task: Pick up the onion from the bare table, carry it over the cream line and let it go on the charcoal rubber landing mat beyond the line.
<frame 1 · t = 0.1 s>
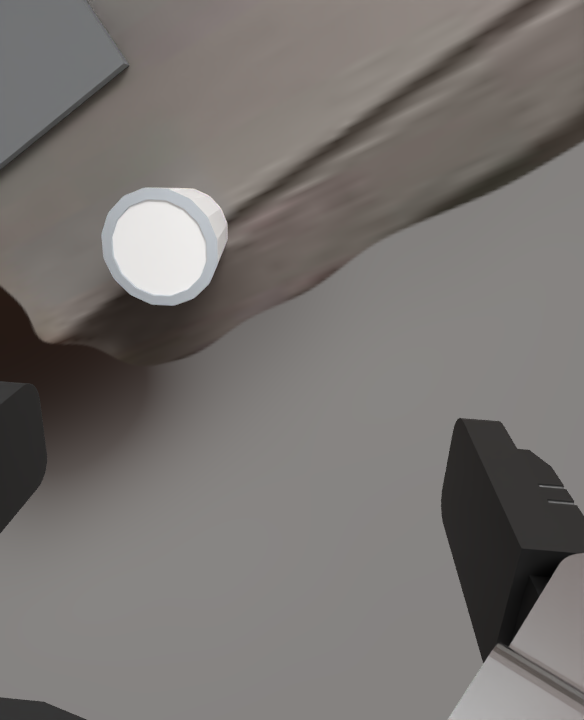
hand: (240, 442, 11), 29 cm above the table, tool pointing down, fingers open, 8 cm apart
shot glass: (188, 229, 39), on the table
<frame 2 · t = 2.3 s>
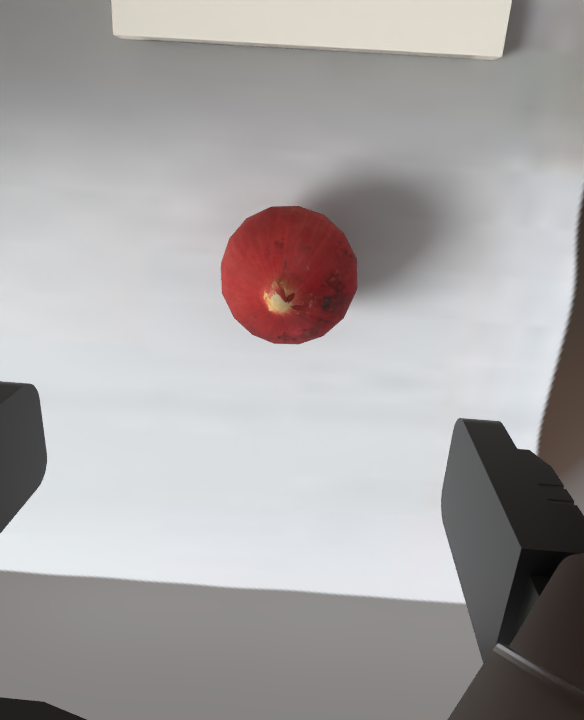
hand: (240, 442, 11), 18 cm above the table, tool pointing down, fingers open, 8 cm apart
onion: (294, 257, 28), on the table
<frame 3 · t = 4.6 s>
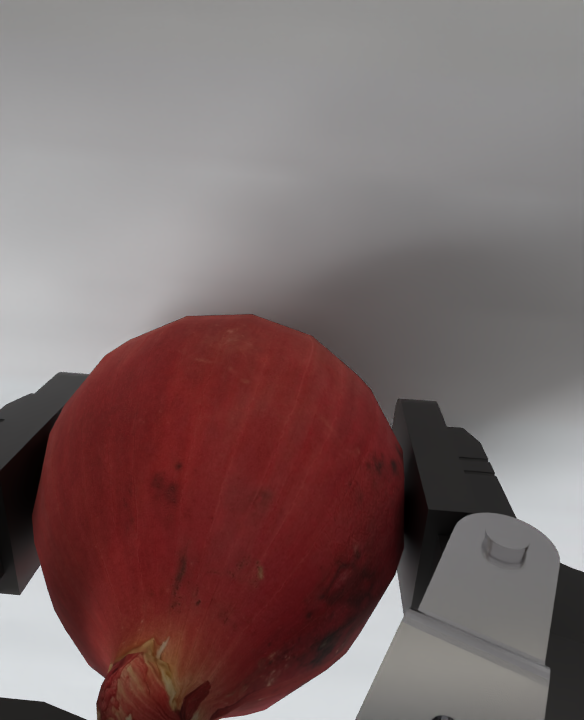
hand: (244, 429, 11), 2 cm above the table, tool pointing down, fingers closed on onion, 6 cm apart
onion: (256, 391, 13), on the table, touching gripper
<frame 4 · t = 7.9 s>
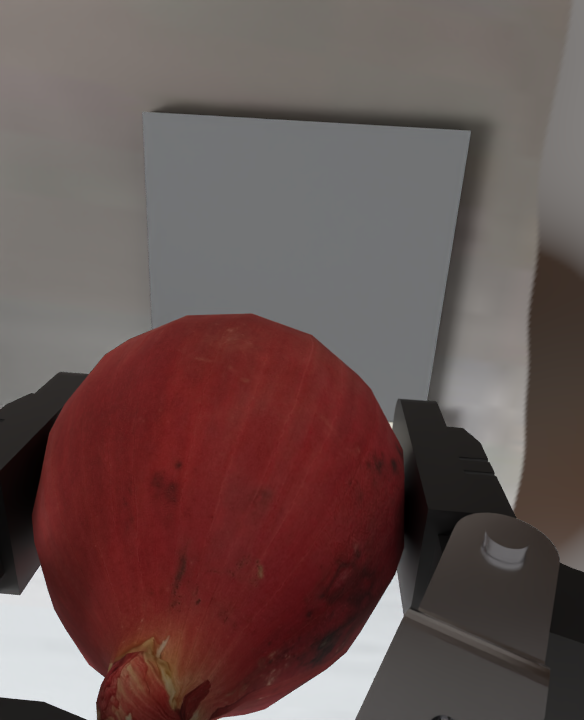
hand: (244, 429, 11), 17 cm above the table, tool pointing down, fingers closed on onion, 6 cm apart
onion: (256, 390, 13), point 15 cm above the table, touching gripper
landing mat: (295, 296, 28), on the table
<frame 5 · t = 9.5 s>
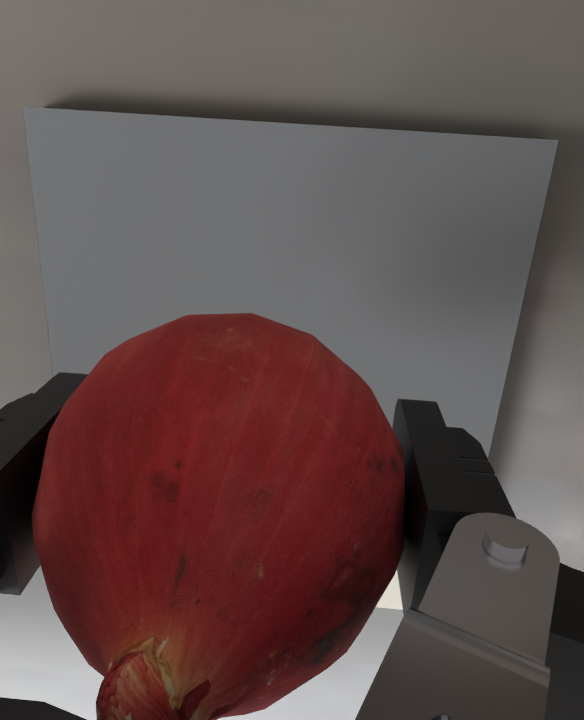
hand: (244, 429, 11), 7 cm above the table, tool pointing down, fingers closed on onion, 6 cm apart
onion: (256, 390, 13), point 5 cm above the table, touching gripper
landing mat: (274, 385, 18), on the table
when the fingers open (4 cm above the table, at t = 11.1 s): onion drops 1 cm, resting on landing mat.
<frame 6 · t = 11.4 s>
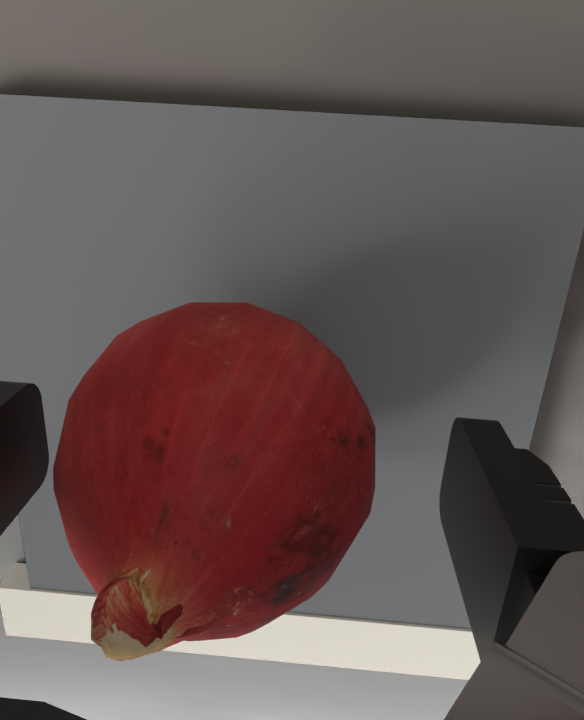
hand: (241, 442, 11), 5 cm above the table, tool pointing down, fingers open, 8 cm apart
onion: (261, 368, 14), point 1 cm above the table, touching landing mat
landing mat: (263, 420, 16), on the table
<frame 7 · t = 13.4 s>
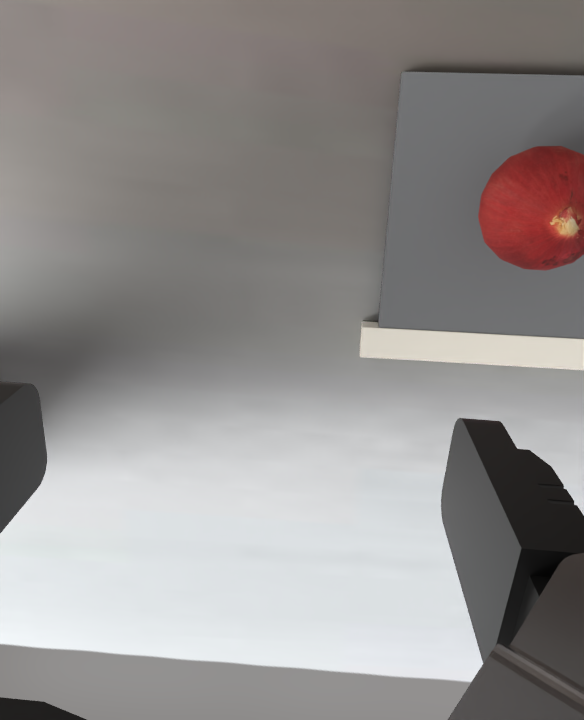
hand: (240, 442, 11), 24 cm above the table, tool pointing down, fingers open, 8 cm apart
onion: (518, 197, 31), point 1 cm above the table, touching landing mat
landing mat: (509, 231, 32), on the table
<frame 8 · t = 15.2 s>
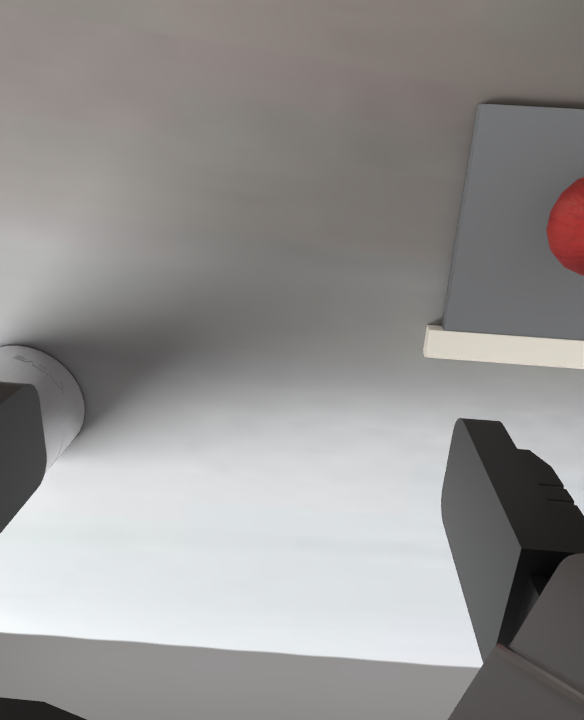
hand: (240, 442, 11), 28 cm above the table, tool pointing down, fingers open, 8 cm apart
onion: (576, 216, 35), point 1 cm above the table, touching landing mat
landing mat: (564, 245, 36), on the table
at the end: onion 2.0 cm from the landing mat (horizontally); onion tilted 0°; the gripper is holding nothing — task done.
